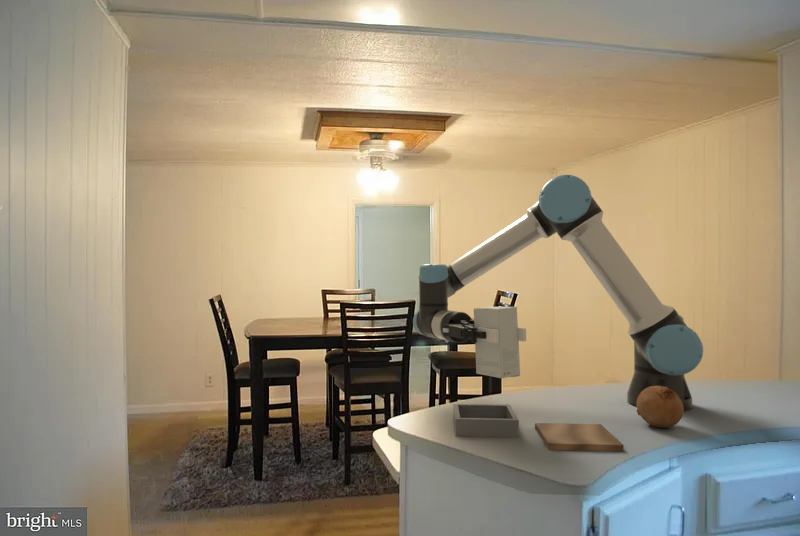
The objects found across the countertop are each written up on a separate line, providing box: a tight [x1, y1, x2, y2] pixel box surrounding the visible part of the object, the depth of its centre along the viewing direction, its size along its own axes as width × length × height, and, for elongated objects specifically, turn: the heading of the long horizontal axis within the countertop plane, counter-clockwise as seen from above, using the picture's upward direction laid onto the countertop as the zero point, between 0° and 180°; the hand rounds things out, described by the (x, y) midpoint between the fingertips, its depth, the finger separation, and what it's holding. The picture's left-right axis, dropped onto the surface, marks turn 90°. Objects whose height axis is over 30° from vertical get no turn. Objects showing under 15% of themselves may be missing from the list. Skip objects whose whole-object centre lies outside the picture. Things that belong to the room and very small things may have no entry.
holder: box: [452, 403, 520, 438], centre depth 116 cm, size 13×13×4 cm
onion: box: [636, 386, 685, 429], centre depth 118 cm, size 10×9×10 cm
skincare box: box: [473, 306, 521, 379], centre depth 115 cm, size 8×6×15 cm
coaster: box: [534, 422, 625, 452], centre depth 108 cm, size 14×14×1 cm
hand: (511, 335), depth 110 cm, fingers closed on skincare box, 6 cm apart
